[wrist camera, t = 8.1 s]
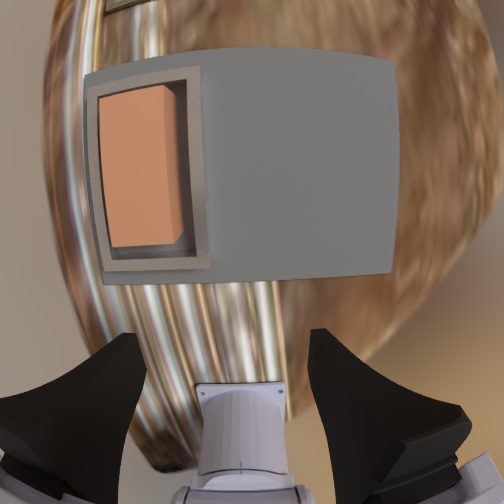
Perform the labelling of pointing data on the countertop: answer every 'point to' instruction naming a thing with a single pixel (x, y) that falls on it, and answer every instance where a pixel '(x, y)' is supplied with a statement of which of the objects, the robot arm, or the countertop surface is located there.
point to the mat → (282, 164)
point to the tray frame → (198, 174)
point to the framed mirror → (120, 4)
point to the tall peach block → (141, 167)
